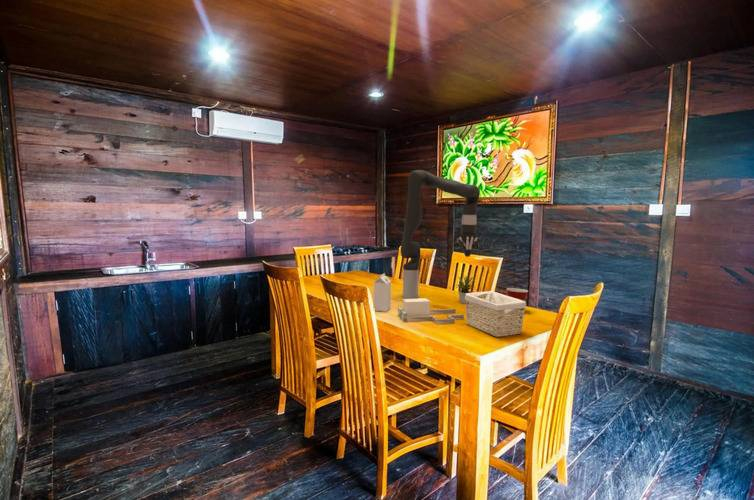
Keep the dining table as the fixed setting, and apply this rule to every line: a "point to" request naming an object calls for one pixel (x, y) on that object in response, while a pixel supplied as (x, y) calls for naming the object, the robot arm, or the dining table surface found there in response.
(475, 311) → the storage basket
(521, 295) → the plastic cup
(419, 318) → the trap lane
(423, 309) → the cream box
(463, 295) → the house plant
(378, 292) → the milk carton
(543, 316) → the dining table surface
